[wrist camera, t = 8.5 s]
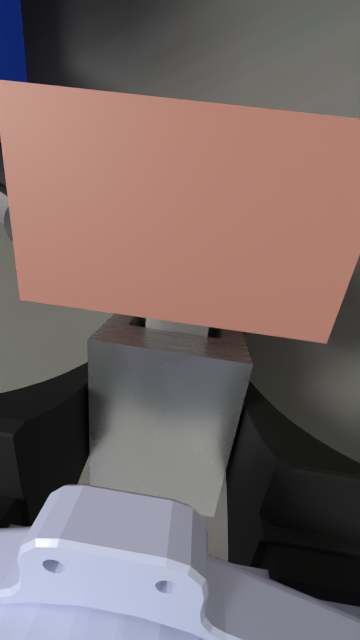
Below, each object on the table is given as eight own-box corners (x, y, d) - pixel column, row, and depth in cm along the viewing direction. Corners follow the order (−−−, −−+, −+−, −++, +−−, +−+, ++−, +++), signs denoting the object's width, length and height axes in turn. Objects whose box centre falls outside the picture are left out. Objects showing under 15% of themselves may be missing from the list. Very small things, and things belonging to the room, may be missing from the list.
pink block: (234, 383, 14) (262, 517, 8) (114, 365, 14) (41, 480, 8) (281, 186, 11) (408, 123, 4) (119, 167, 11) (-7, 79, 4)
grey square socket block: (210, 417, 15) (213, 517, 10) (128, 404, 15) (90, 495, 10) (232, 307, 12) (253, 364, 7) (134, 293, 13) (87, 339, 7)
